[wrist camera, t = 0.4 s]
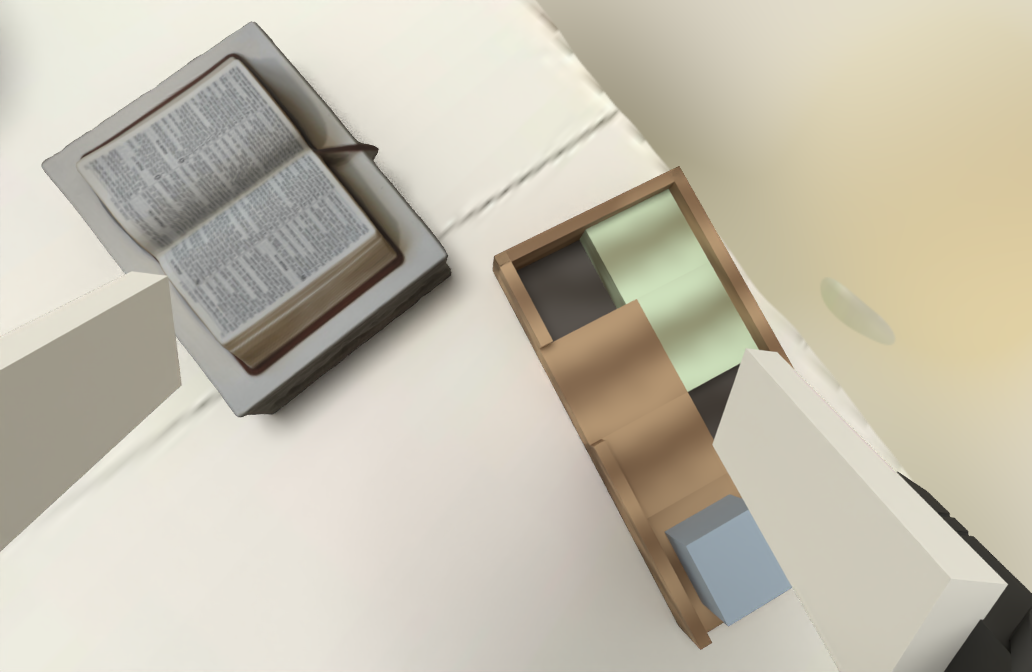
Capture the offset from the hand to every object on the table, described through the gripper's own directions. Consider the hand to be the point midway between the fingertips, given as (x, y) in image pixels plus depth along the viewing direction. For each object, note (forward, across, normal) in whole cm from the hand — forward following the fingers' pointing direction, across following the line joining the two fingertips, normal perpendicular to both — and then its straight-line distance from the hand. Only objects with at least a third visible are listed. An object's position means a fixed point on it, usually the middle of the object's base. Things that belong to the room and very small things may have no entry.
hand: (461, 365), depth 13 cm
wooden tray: (+29, -17, +16) cm, 38 cm away
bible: (+35, +18, +8) cm, 40 cm away
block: (+21, -21, +24) cm, 38 cm away
